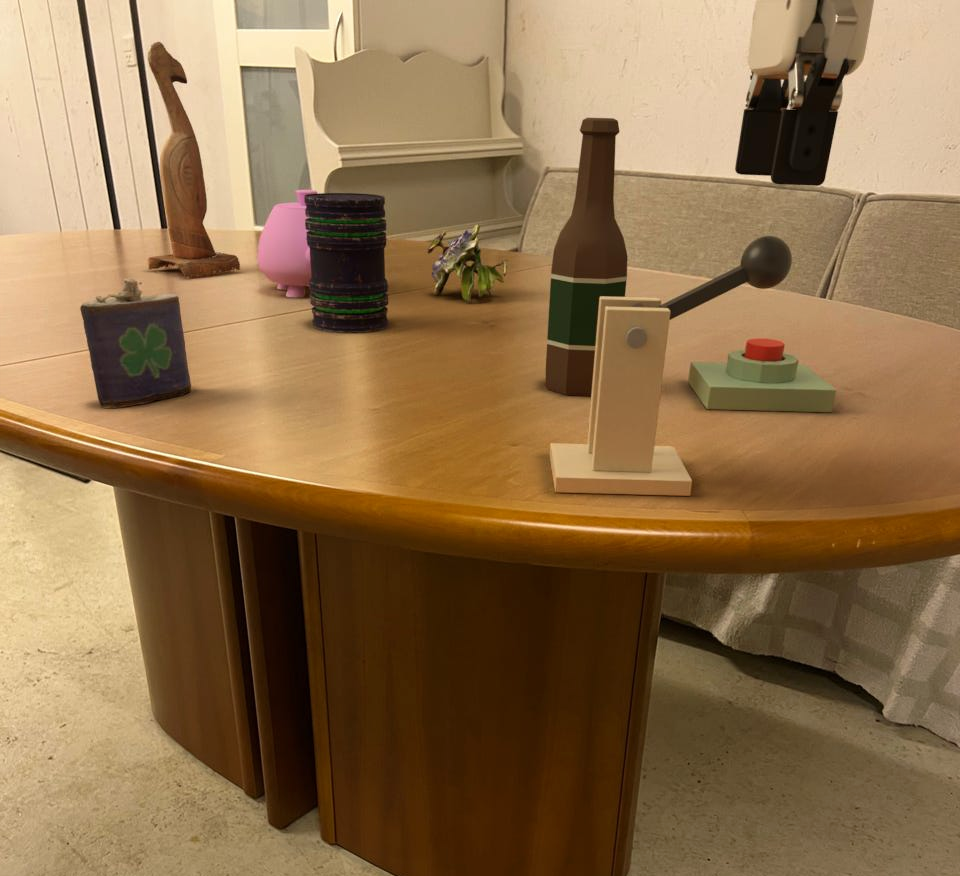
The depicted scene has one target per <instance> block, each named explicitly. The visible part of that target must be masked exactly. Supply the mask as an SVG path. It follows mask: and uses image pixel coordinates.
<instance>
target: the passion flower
mask: <svg viewBox="0 0 960 876" xmlns="http://www.w3.org/2000/svg"><path fill="white" fill-rule="evenodd" d="M480 228H481V227H480V224H479V223H478V224H475V225H474V226H473V229H472V230H471V231H470V232H469V230H468V229H467V230H464V232H463V234H459V236H458V237H455V239H452V241H450V242H449V241H448V242H447V243H448V245H447V246H445V244H444V243H443V242H442V241H443V239H444V238H445V236H446V235H447V232H446V231H445V230H444V231H443V232H441V233H440V234H439V235H437V237H434V240H433V241H432V242H431V244H430V245H429V247H428V249H427V254H431V253H432V252H433V251H434V250H435V249H436V248H437V247H441V249H442V252H441V253H439V256H438V259H437V260H436V261H435V263H433V264H432V265H431V269H432V272H431V277H432V280H433V282H435V283H436V284H435V287H434V288H435V289H434V291H433V295H435V296H440V295H441V294H443V291H444V289H445V286H446V284H447V282H448V280H449V278H450V275H451V273H452V272H454V271H455V274H456V276H457V277H458V279H460V289H461V290H460V291H461V297H462V299H463V300H464V301H466V302H467V303H468V304H471V300H472V299H471V298H472V294H473V292H474V288H475V274H476V276H477V281H476V283H477V290H478V291H477V294H478V297H479V298H481V297H482V296H484V294H486V292H488V294H489V296H490V297H491V296H492V294H491V290H492V289H493V288H494V285H495V280H497V281H498V282H500V283H502V284H503V283H504V282H505V281H504V278H503V276H504V277H506V275H507V271H508V270H507V269H508V265H507V264H508V260H509V259H504V260H501V262H500V263H498V264H495V265H493V266H492V265H488V264H486V265H485V264H484V265H483V264H482V258H481V254H482V250H481V248H480V247H479V243H480V242H479V238H478V234H479V231H480ZM468 262H472V263H471V265H468V264H467V263H468ZM500 266H502V267H503V268H502V272H503V273H502V275H503V276H502V275H501V273H500V272H499V271H498V270H497V268H496V267H500Z"/></svg>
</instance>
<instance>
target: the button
mask: <svg viewBox="0 0 960 876" xmlns="http://www.w3.org/2000/svg"><path fill="white" fill-rule="evenodd" d="M785 345H786V344H785V343H784V342H783V341H781V340H777V339H771V338H758V337H757V338H750V339H748V340H746V344H745V348H744V349H745V355H744V358H747V359H751V360H757V361H768V362H776V361H782V357H783V353H785V352H784V350H785Z"/></svg>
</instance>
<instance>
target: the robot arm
mask: <svg viewBox="0 0 960 876" xmlns="http://www.w3.org/2000/svg"><path fill="white" fill-rule="evenodd" d="M874 3H875V0H755V3H754V10H753V15H752V16H753V17H752V24H751V29H750V30H751V31H750V38H749V40H750V41H749V47H748V61H747V63H748V67H749V69H750V71H751V72H750V73H751V74H750V76H749V80H750V83H749V87H748V90H747V92H746V96H745V108H744V109H743V113H742V119H741V120H742V121H741V127H740V134H739V140H738V147H737V154H736V159H735V166H734V167H735V168H734V171H735V173H736V174H737V175H741V176H763V177H764V176H768V177H770V180H771V183H772V184H774V185H781V186H783V185H784V186H809V187H810V186H811V187H818V186H821V185H822V184H824V182H825V180H826V177H827V176H826V175H827V171H828V166H829V162H830V161H829V160H830V155H831V151H832V145H833V140H834V135H835V131H836V125H837V121H838V116H839V109H840V107H841V105H842V101H843V93H844V90H843V80H844V78H845V76H849V75H851V74H854V72H856V71H857V69H859V67H860V66H861V65H862V63H863V61H864V59H865V54H866V49H867V44H868V39H869V32H870V27H871V21H872V15H873V11H874V10H873V9H874ZM805 77H806V78H805ZM788 108H789V109H788Z"/></svg>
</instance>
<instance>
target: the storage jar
mask: <svg viewBox="0 0 960 876" xmlns="http://www.w3.org/2000/svg"><path fill="white" fill-rule="evenodd" d="M304 199H305V204H306V209H305V214H306V217H309V218H307V219H305V226H306V227H305V229H306V230H309V231H308V232H306V235H307V238H306V240H307V245H308V246H309V248H310V262H311V279H310V281H309V284H310V285H309V286H308V288H309V292H310V294H309V301H310V302H309V305H310V306H312V307H311V313H312V316H313V319H312V326H313V328H315V329H317V330H321V331H324V332H331V333H345V334H346V333H347V334H352V333H353V334H354V333H355V334H356V333H357V334H358V333H369V332H377V331H381V330H384V329H386V328H387V327H388V326H389V320H388V318H387V316H388V315H387V314H388V312H389V310H388V307H387V306H389V294H388V291H389V285H388V280H387V278H386V267H385V266H386V265H385V261H386V259H385V248H386V247H387V240H388V238H387V233H386V232H385V231H387V219H384V218H386V210H385V205H386V197H385V196H384V195H379V194H372V193H356V192H355V193H353V192H349V193H348V192H323V193H322V192H321V193H320V192H319V193H317V194H308V195H305V196H304Z"/></svg>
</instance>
